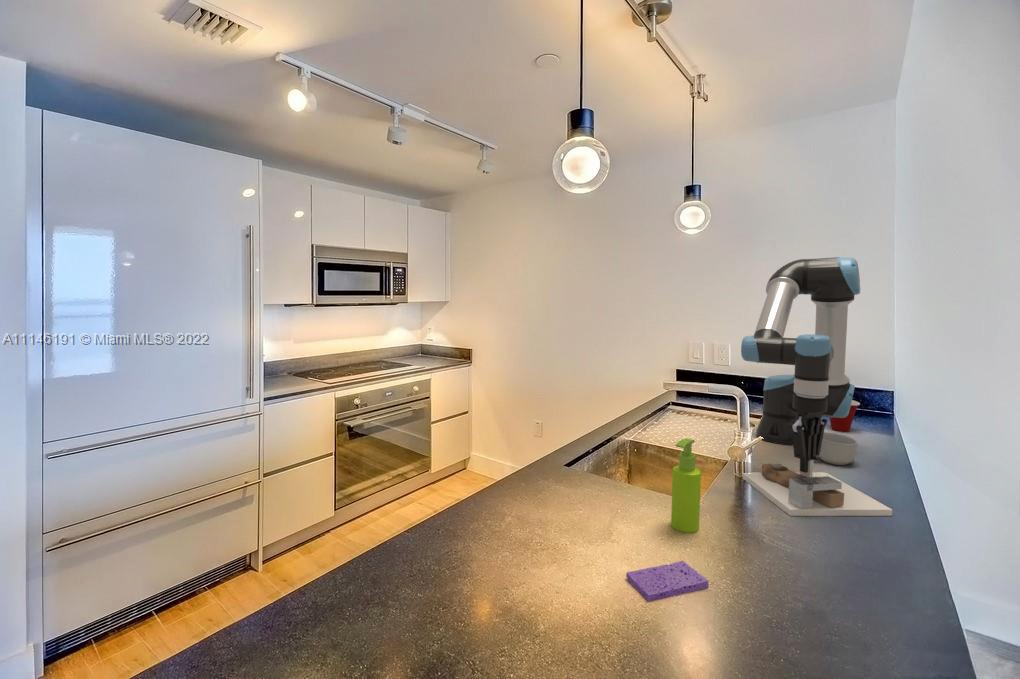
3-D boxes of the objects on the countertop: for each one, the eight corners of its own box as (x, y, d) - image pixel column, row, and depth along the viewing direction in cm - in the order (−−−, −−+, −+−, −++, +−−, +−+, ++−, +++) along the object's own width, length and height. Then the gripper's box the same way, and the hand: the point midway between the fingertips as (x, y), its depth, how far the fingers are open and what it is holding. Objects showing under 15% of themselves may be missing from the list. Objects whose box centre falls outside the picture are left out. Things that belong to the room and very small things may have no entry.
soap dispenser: (664, 527, 104) (666, 440, 103) (678, 517, 109) (681, 434, 107) (689, 537, 100) (692, 446, 98) (703, 526, 105) (706, 439, 103)
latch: (759, 475, 131) (759, 461, 130) (775, 473, 132) (776, 460, 132) (827, 507, 110) (828, 492, 110) (846, 504, 112) (847, 489, 111)
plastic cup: (856, 435, 173) (858, 404, 172) (821, 430, 181) (823, 399, 180) (860, 429, 181) (862, 399, 180) (826, 424, 189) (828, 395, 188)
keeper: (787, 507, 114) (789, 478, 114) (826, 505, 116) (828, 476, 115) (800, 515, 110) (801, 485, 110) (839, 512, 112) (841, 482, 111)
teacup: (842, 456, 151) (844, 432, 150) (864, 468, 140) (866, 442, 140) (797, 455, 152) (798, 431, 152) (815, 467, 142) (817, 441, 141)
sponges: (708, 590, 83) (709, 580, 83) (647, 604, 79) (647, 594, 79) (683, 568, 90) (683, 559, 89) (625, 581, 86) (625, 571, 86)
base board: (741, 477, 134) (741, 472, 133) (825, 477, 133) (825, 472, 133) (789, 515, 110) (790, 509, 110) (892, 515, 110) (892, 509, 110)
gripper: (809, 389, 126) (805, 473, 129) (780, 395, 120) (776, 483, 123) (839, 394, 120) (834, 483, 122) (810, 401, 114) (805, 493, 116)
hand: (805, 483), depth 123 cm, fingers closed
